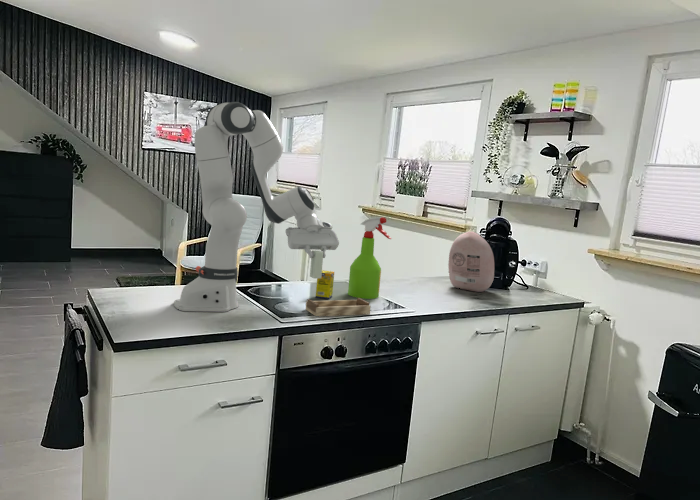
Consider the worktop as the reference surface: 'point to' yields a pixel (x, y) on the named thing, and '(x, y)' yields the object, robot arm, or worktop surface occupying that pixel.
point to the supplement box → (325, 285)
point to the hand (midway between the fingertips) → (317, 257)
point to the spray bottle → (367, 264)
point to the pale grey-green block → (316, 265)
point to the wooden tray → (338, 307)
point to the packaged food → (471, 263)
